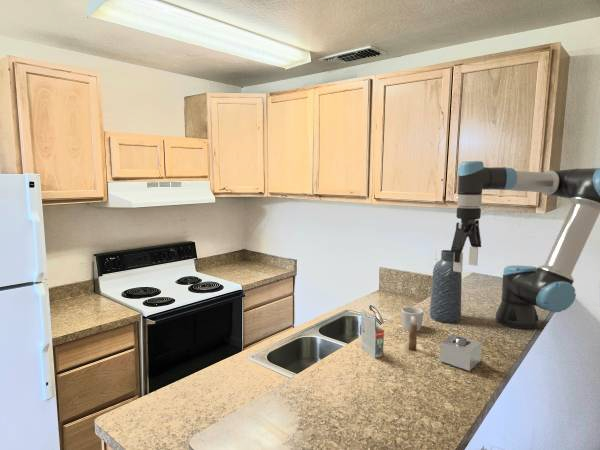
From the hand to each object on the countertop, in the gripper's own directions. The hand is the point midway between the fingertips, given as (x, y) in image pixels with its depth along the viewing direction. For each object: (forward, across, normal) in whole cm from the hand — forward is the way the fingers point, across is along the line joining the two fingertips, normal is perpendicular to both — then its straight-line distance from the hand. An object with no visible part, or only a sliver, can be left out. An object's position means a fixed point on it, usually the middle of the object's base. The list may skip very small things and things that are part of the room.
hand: (465, 268), depth 132 cm
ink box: (+27, +31, -17) cm, 44 cm away
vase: (+27, -18, -14) cm, 36 cm away
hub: (+27, +18, +6) cm, 33 cm away
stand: (+27, +20, -8) cm, 34 cm away
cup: (+27, +4, -17) cm, 32 cm away
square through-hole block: (+25, +18, +7) cm, 31 cm away
